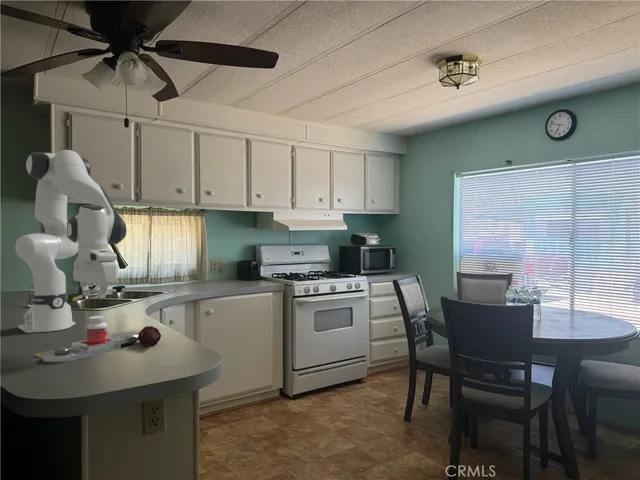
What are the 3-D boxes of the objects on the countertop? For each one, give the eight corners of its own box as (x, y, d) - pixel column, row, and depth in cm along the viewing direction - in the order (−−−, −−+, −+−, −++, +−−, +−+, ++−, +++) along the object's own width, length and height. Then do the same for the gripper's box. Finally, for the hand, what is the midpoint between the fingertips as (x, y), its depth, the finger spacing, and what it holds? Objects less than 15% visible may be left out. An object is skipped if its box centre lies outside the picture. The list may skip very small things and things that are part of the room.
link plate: (39, 359, 141) (39, 355, 141) (35, 357, 142) (35, 353, 142) (66, 353, 147) (66, 349, 147) (62, 351, 149) (62, 348, 149)
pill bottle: (109, 350, 147) (108, 317, 147) (88, 353, 144) (87, 319, 144) (106, 346, 152) (105, 314, 152) (86, 349, 149) (85, 316, 149)
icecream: (167, 329, 149) (157, 325, 162) (144, 326, 145) (136, 322, 158) (162, 350, 147) (153, 345, 160) (139, 348, 144) (131, 343, 157)
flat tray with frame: (52, 365, 132) (52, 355, 132) (36, 360, 138) (36, 350, 137) (148, 341, 158) (148, 333, 158) (132, 338, 164) (131, 330, 164)
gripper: (67, 253, 150) (68, 294, 151) (100, 256, 139) (101, 300, 139) (86, 252, 156) (86, 292, 156) (120, 255, 144) (120, 298, 144)
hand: (93, 296), depth 148 cm, fingers open, 8 cm apart
